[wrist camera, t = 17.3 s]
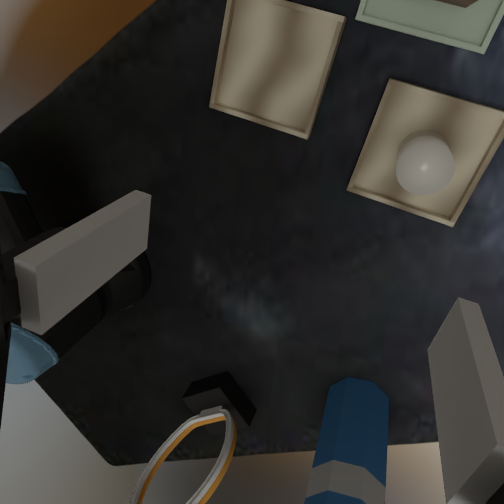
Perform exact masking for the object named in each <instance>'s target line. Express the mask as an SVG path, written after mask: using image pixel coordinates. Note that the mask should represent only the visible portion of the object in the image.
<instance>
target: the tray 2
mask: <svg viewBox="0 0 504 504" xmlns="http://www.w3.org/2000/svg"><path fill="white" fill-rule="evenodd" d="M503 15H504V0H478V1H476V2H475V3H473V4H471V5H470V6H468V7H466V8H463V7H459V6H455V5H451V4H447V3H443V2H439V1H435V0H361V2H360V5H359V8H358V12H357V15H356V18H355V20H358V21H362V22H365V23H369V24H373V25H376V26H380V27H384V28H387V29H391V30H395V31H398V32H402V33H406V34H409V35H413V36H417V37H421V38H424V39H428V40H432V41H435V42H439V43H443V44H446V45H450V46H454V47H457V48H461V49H465V50H468V51H472V52H476V53H480V54H484V53H485V51H486V49H487V47H488V45H489V43H490V41H491V39H492V37H493V35H494V33H495V31H496V29H497V27H498V25H499V23H500V21H501V19H502V17H503Z"/></svg>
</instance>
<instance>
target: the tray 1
mask: <svg viewBox="0 0 504 504" xmlns="http://www.w3.org/2000/svg"><path fill="white" fill-rule="evenodd" d="M346 19H347V17H344V16H341V15H337V14H333V13H330V12H326V11H322V10H319V9H315V8H311V7H308V6H304V5H300V4H297V3H293V2H289V1H285V0H227V5H226V11H225V17H224V23H223V29H222V35H221V40H220V46H219V52H218V58H217V64H216V70H215V76H214V82H213V88H212V94H211V99H210V105H209V107H210V108H213V109H216V110H219V111H222V112H225V113H229V114H232V115H235V116H238V117H241V118H244V119H247V120H250V121H253V122H256V123H259V124H262V125H265V126H268V127H271V128H274V129H277V130H280V131H283V132H286V133H289V134H292V135H295V136H298V137H301V138H304V139H308V138H309V137H310V135H311V132H312V128H313V125H314V122H315V119H316V116H317V112H318V109H319V106H320V103H321V99H322V96H323V93H324V90H325V87H326V83H327V80H328V77H329V74H330V70H331V67H332V64H333V61H334V58H335V54H336V51H337V48H338V45H339V41H340V38H341V35H342V32H343V29H344V25H345V22H346Z"/></svg>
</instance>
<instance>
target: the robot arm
mask: <svg viewBox="0 0 504 504" xmlns="http://www.w3.org/2000/svg"><path fill="white" fill-rule="evenodd" d="M26 196H27V194H26V192H25V191H24V190H22V188H21V186H20V184H19V182H18V181H17V179H16V177H15V175H14V173H13V171H12V170H11V168H10V167H9V166H8V165H6V164H5V163H3V162H0V427H1V419H2V409H3V401H4V392H5V383H9V384H23V383H28V382H30V381H32V380H34V379H36V378H37V377H38V376H39V375H41V374H42V373H43V372H45V371H46V370H47V369H48V368H50V367H51V366H53V365H55V364H56V363H57V362H58V360H59V359H60V358H61V357H62V356H63V355H64V354H65V353H66V352H67V351H68V350H70V349H71V348H72V347H73V346H74V345H75V344H76V343H77V342H78V341H79V340H80V339H81V338H82V337H84V336H85V335H86V334H87V333H88V332H89V331H90V330H91V329H92V328H93V327H94V326H95V325H97V324H98V323H99V322H100V321H101V320H102V319H103V318H105V317H107V316H110V315H112V314H114V313H117V312H119V311H122V310H125V309H128V308H130V307H132V306H133V305H135V304H136V303H137V302H138V301H139V300H140V299H141V298H142V297H143V296H144V295H145V294H146V292H147V291H148V289H149V286H150V280H151V274H150V268H149V264H148V261H147V258H146V256H145V254H144V252H143V251H145V250H146V249H147V241H148V229H149V216H150V204H151V195H150V194H147V193H144V192H141V191H138V190H134V191H133V192H131V193H129V194H127V195H126V196H124V197H122V198H120V199H118V200H117V201H115V202H113V203H111V204H109V205H108V206H106V207H104V208H102V209H100V210H99V211H97V212H95V213H93V214H91V215H90V216H88V217H86V218H84V219H82V220H81V221H79V222H77V223H75V224H73V225H72V226H70V227H68V228H64V227H58V228H54V229H50V230H47V231H45V232H42V229H41V227H40V225H39V223H38V221H37V219H36V217H35V215H34V212H33V210H32V208H31V206H30V204H29V202H28V200H27V197H26ZM428 357H429V365H430V373H431V382H432V390H433V398H434V406H435V415H436V423H437V431H438V439H439V448H440V456H441V464H442V472H443V481H444V489H445V496H446V504H504V377H503V374H502V371H501V368H500V365H499V362H498V359H497V356H496V353H495V350H494V347H493V345H492V342H491V339H490V336H489V333H488V330H487V327H486V324H485V321H484V318H483V315H482V312H481V309H480V306H479V304H477V303H474V302H471V301H468V300H465V299H462V298H459V297H458V298H457V300H456V302H455V303H454V305H453V307H452V308H451V310H450V312H449V314H448V315H447V317H446V319H445V320H444V322H443V324H442V325H441V327H440V329H439V331H438V332H437V334H436V336H435V337H434V339H433V341H432V342H431V344H430V346H429V348H428Z"/></svg>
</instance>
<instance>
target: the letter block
mask: <svg viewBox="0 0 504 504" xmlns="http://www.w3.org/2000/svg"><path fill="white" fill-rule="evenodd" d="M435 1H439V2H443V3H447V4H451V5H455V6H459V7H463V8H466V7H468V6H470V5H471V4H473V3H475V2H476V1H478V0H435Z"/></svg>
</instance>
